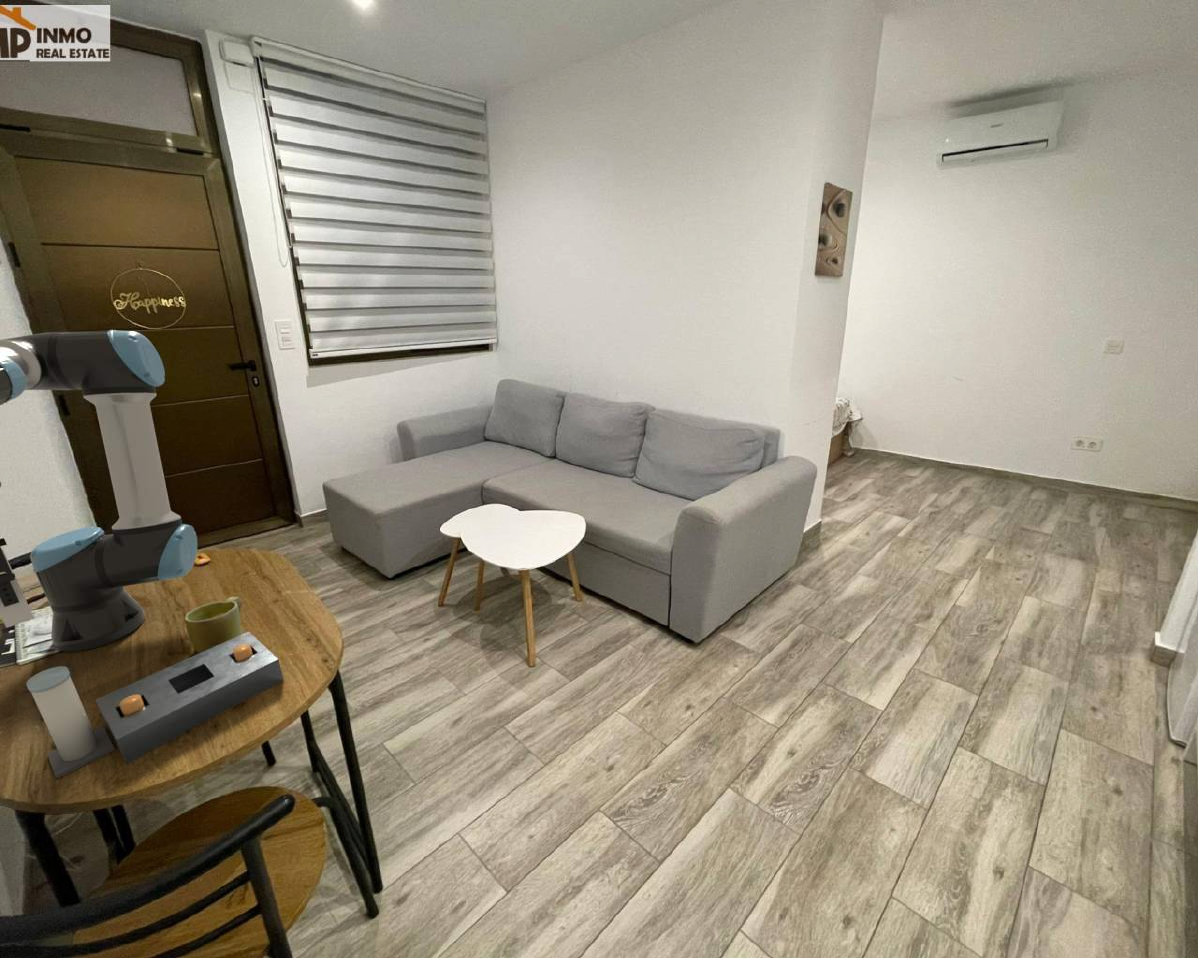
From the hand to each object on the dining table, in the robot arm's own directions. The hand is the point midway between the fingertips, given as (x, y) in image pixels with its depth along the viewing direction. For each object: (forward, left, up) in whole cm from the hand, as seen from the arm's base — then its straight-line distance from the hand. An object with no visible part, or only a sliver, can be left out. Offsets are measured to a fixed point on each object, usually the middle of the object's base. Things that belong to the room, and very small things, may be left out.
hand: (13, 605), depth 76 cm
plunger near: (+2, +8, -28) cm, 29 cm away
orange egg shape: (+1, +25, -28) cm, 37 cm away
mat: (0, 0, -29) cm, 29 cm away
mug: (-16, +26, -29) cm, 42 cm away
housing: (+1, +16, -29) cm, 33 cm away
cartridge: (0, 0, -28) cm, 28 cm away
